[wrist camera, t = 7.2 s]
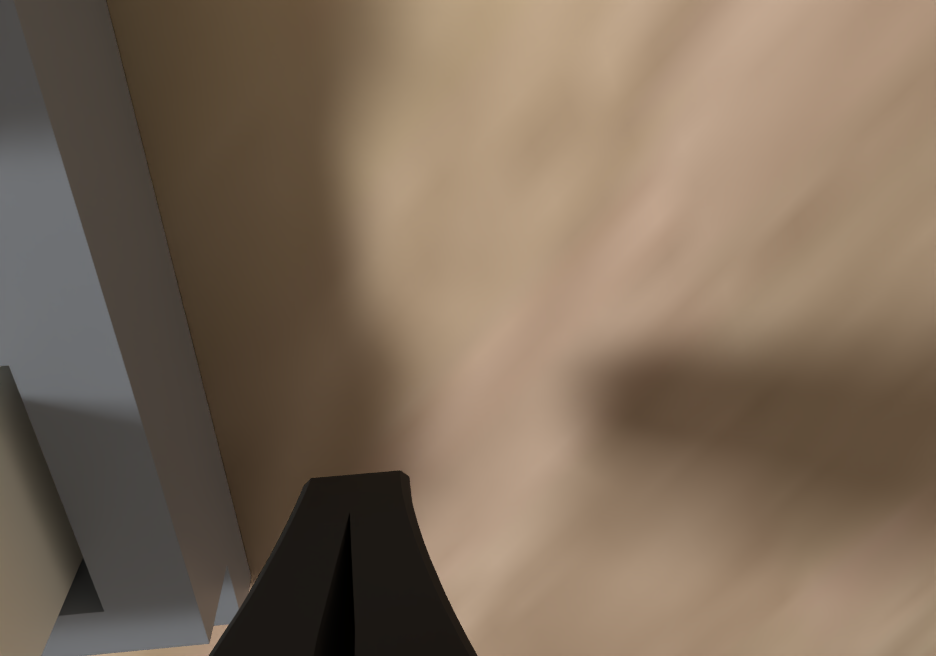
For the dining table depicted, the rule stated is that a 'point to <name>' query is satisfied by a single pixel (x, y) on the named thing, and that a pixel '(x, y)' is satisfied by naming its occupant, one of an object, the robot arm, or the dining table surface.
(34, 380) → the switch bank
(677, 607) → the dining table surface
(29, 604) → the tab
